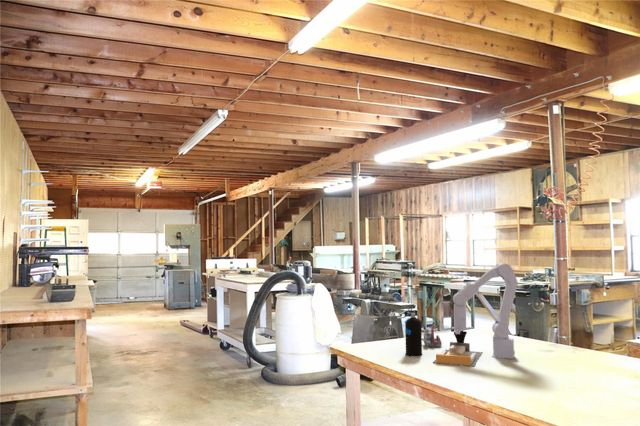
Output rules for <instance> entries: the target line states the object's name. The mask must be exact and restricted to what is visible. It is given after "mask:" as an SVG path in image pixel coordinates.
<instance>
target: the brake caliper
mask: <svg viewBox="0 0 640 426" xmlns="http://www.w3.org/2000/svg"><path fill="white" fill-rule="evenodd" d="M430 329H431V331H429V329H428V328H426V329H424V333H423V338H422V342H423V344H425V345H424V346H427V347H428V348H440V347H442V345H443V343H442V340H441V337H440V336H439V334H438V335H436V337H435V331H434V324H433V325H431V328H430Z"/></svg>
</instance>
